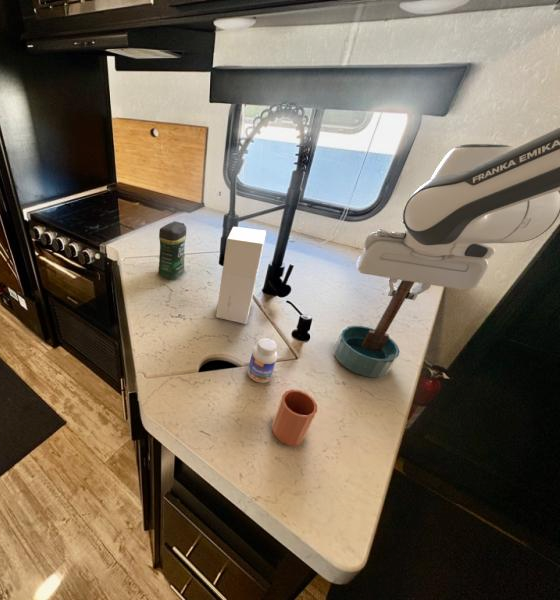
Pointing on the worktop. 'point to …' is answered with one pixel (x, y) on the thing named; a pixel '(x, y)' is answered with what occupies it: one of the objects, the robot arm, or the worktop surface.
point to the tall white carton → (239, 273)
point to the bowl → (364, 353)
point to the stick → (387, 319)
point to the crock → (294, 417)
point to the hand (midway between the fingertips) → (399, 296)
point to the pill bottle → (263, 360)
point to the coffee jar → (172, 250)
